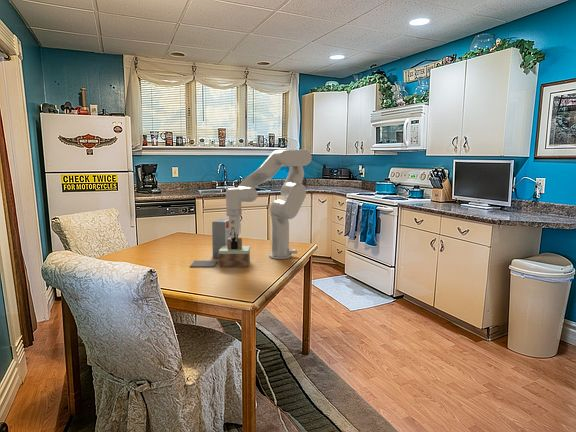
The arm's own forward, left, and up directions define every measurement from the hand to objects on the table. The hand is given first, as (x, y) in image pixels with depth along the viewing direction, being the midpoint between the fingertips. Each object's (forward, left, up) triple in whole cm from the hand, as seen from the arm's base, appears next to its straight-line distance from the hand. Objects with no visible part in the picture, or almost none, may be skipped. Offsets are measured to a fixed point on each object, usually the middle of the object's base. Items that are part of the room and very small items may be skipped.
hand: (234, 247), depth 187 cm
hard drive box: (+9, -20, -9) cm, 24 cm away
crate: (0, 0, -9) cm, 9 cm away
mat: (+16, 0, -9) cm, 18 cm away
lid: (0, 0, -2) cm, 2 cm away
